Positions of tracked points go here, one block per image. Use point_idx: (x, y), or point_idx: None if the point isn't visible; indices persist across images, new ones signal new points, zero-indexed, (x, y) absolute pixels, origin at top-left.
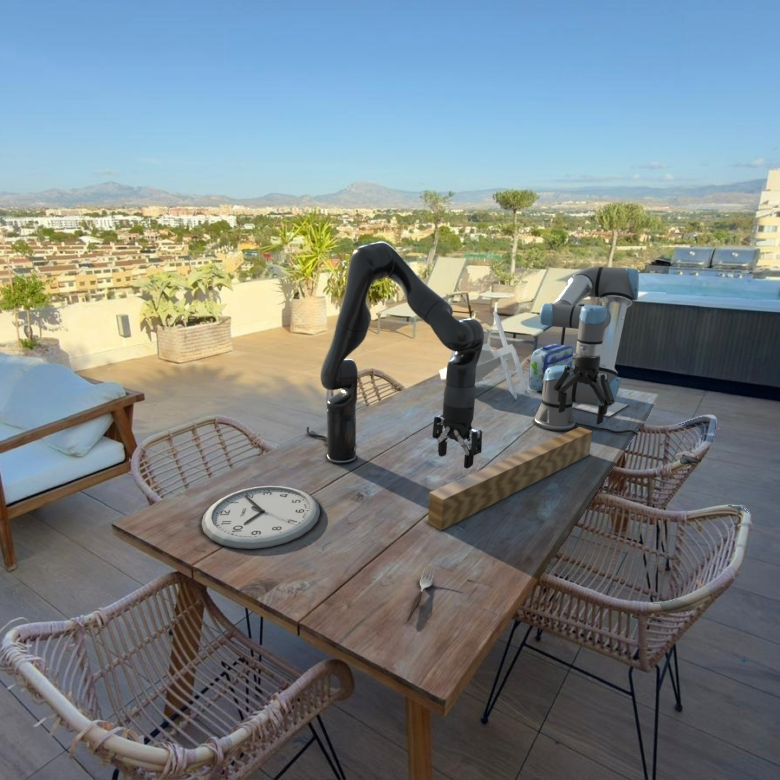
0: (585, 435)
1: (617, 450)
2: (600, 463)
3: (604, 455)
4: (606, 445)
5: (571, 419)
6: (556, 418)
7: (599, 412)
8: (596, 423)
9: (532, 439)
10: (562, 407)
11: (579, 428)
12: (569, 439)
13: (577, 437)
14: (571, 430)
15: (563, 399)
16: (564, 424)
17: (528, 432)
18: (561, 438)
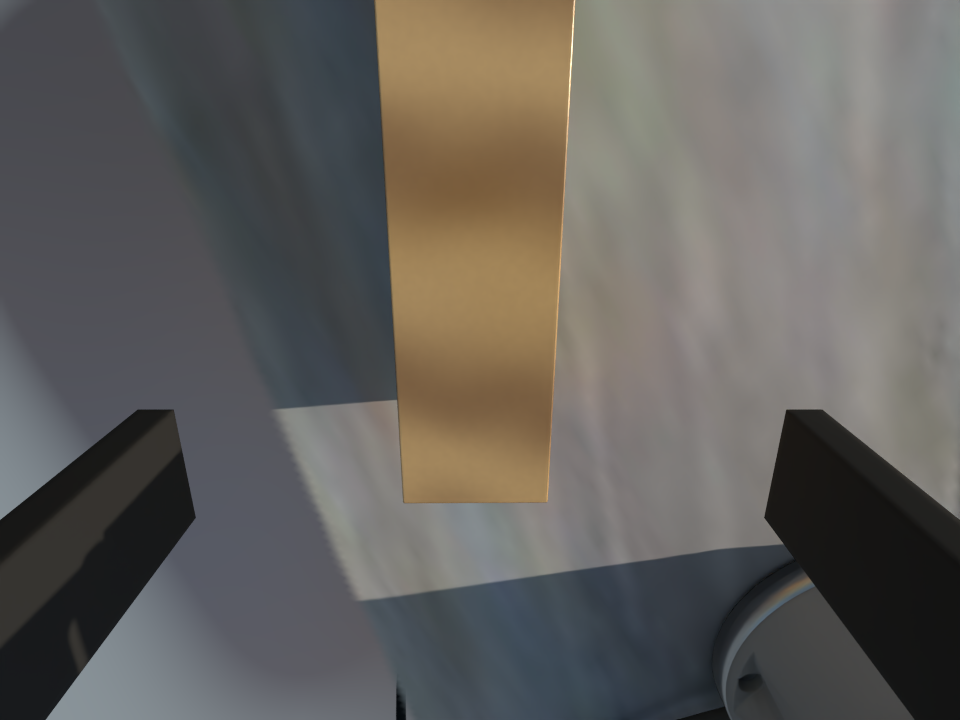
0: (397, 374)
1: (350, 578)
2: (289, 322)
3: (354, 458)
4: (436, 594)
5: (758, 714)
6: (850, 642)
7: (2, 532)
8: (167, 413)
9: (870, 317)
10: (821, 491)
11: (525, 469)
12: (416, 77)
13: (393, 221)
14: (554, 361)
15: (928, 606)
16: (767, 635)
17: (947, 409)
18: (501, 18)
